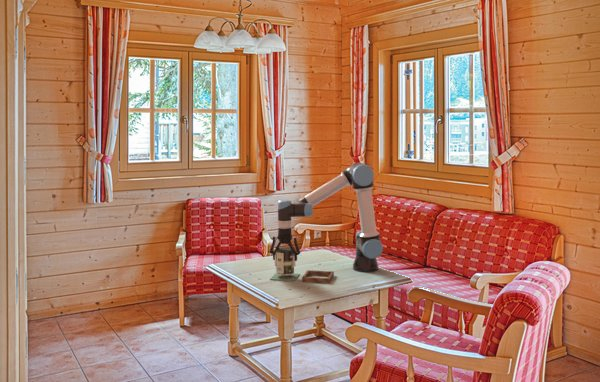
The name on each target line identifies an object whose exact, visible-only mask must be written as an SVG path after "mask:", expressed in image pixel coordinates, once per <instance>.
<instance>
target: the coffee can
mask: <svg viewBox="0 0 600 382" xmlns="http://www.w3.org/2000/svg"><path fill="white" fill-rule="evenodd" d="M275 249H276V248H275ZM293 255H294V253H293V250H291V248H290V246H283V247H281V246H280V247H279V248H278V249H276V266H275V268H276V270H275V271H276V272H275V273H276V274H278V275H292V274H294V273H295V267H293Z"/></svg>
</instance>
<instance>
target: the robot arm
mask: <svg viewBox="0 0 600 382" xmlns="http://www.w3.org/2000/svg"><path fill="white" fill-rule="evenodd" d="M374 179H375V173H374V170H373V169H372V167H371V166H370V165H368V164H365V163H363V162H355V163H353V164H352V165H350V166H349V167H347V168H345V169H344V170H343V171H341V172H340V174H339V175H338V176H336V177H334V178H333V179H331V180H329V181H327V182H326V183H325V184H323V185H321V186H320V187H318V188H316V189H315V190H313V191H312V192H309V193H307V194H306V195H305V196H303V197H301V198H298V199H296V200H295V201H294V202H293V203H292V200H290V199H281V200H278V202H277V227H278V228H277V233H278V234H277V235H274V236H273V237H272V243H271V247H270V250H269V253H270V254H271V255H272V260H273V261H274V266H275V267H276V249H278V248H281V245H284V244H285V245H288V247H290V248H291V250H293V253H294V255H293V267H294V268H296V262H297V261H298V256H299V255H300V254H301V251H300V247H299V243H298V237H297V236H292V218H297V217H298V218H300V217H301V218H308V217H312V216H313V212H314V209H313V207H314V206H316V205H317V204H319V203H321V202H322V201H325V200H326V199H327V198H329V197H331V196H332V195H334V194H336V193H338V192H339V191H341V190H343V189H344V188H346V187H347V186H348V187H351V186H352V189H353V190H354V192H356V200H357V206H358V209H357V210H358V215H359V216H358V217H359V223H360V230H358V231H356V233H355V257H354V260H353V261H354V262H353V263H352V270H354V271H355V272H356V271H357V272H362V273H363V272H366V273H367V272H368V273H369V272H370V273H371V272H376V271H378V270H379V263H378V261H377V258H379V257H380V256H381V255H382V253H383V251H384V250H383V249H384V246H383V243H382V242H381V235H380V232H379V231H377V225H376V216H375V210H374V209H375V208H374V201H373V200H374V199H373V192H372V191H373V190H372V189H373V188H374ZM277 240H278V243H277V245H276V242H277ZM292 241H293V242H292ZM293 243H294V244H293ZM275 245H276V247H275Z"/></svg>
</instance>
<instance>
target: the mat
mask: <svg viewBox="0 0 600 382" xmlns="http://www.w3.org/2000/svg"><path fill="white" fill-rule="evenodd" d="M300 275H301V274H300V273H295V272H294V274H292V275H278V274H276V272H275V273H274V274H273V275H272V276H271V277H270V278H269V281H278V282H279V281H283V282H295V281H296V280H297V279H298V277H299V276H300Z"/></svg>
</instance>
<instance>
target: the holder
mask: <svg viewBox="0 0 600 382" xmlns="http://www.w3.org/2000/svg"><path fill="white" fill-rule="evenodd" d="M334 274H335V272H334V271H331V270H330V271H329V270H309V269H307V270H306V271H305V273H304V274H303V276H302V277H301V282H302V283H317V284H330V283H331V282H332V280H333V278H334V277H335V275H334ZM313 276H315V277H313ZM316 276H318V277H316ZM319 276H321V277H319Z"/></svg>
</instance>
